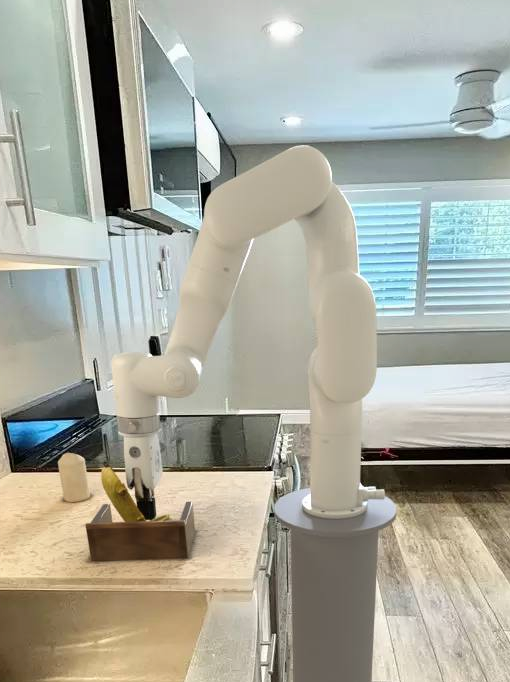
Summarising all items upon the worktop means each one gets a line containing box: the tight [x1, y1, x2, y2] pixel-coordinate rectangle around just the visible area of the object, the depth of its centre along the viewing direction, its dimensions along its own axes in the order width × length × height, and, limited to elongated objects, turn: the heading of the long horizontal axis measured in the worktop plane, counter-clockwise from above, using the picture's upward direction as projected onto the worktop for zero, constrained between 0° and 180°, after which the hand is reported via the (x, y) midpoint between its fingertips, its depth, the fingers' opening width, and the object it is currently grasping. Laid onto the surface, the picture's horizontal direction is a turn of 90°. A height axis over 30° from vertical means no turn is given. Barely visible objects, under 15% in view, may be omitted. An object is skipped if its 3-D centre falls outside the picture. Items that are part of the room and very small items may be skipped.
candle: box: [57, 452, 91, 503], centre depth 124 cm, size 6×6×10 cm
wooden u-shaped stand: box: [85, 501, 196, 562], centre depth 101 cm, size 16×11×7 cm
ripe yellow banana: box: [100, 460, 173, 522], centre depth 102 cm, size 12×8×15 cm
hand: (147, 518), depth 109 cm, fingers closed
